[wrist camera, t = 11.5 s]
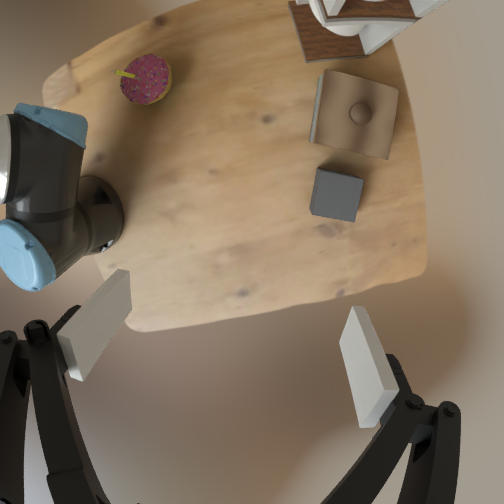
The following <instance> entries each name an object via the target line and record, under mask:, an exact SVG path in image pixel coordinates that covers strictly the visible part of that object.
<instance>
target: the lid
mask: <svg viewBox="0 0 504 504" xmlns="http://www.w3.org/2000/svg"><path fill="white" fill-rule="evenodd" d="M398 93H399V89H396V88H393V87H390V86H387V85H384V84H381V83H378V82H374V81H371V80H367V79H364V78H360V77H357V76H353V75H349V74H345V73H341V72H337V71H333V70H328V69H326V70H325V71H324V72H323V79H322V86H321V93H320V100H319V106H318V113H317V120H316V126H315V132H314V138H313V143H317V144H322V145H327V146H331V147H336V148H341V149H345V150H349V151H354V152H358V153H362V154H366V155H370V156H374V157H378V158H382V159H385V160H388V158H389V152H390V147H391V141H392V135H393V129H394V123H395V116H396V109H397V101H398Z"/></svg>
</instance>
